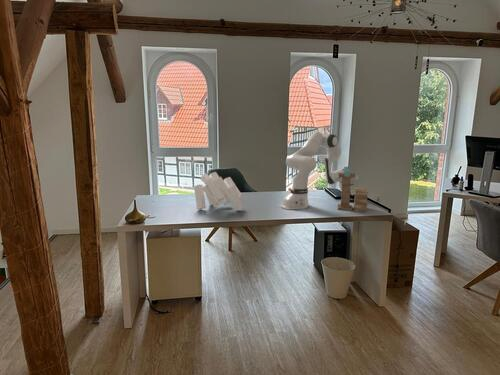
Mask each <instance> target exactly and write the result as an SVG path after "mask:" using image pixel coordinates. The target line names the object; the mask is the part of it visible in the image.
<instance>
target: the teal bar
mask: <svg viewBox="0 0 500 375" xmlns="http://www.w3.org/2000/svg"><path fill="white" fill-rule="evenodd" d="M343 169H344V176H345V177H350V173H351V171H350V167H349V166H344V167H343Z"/></svg>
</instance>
